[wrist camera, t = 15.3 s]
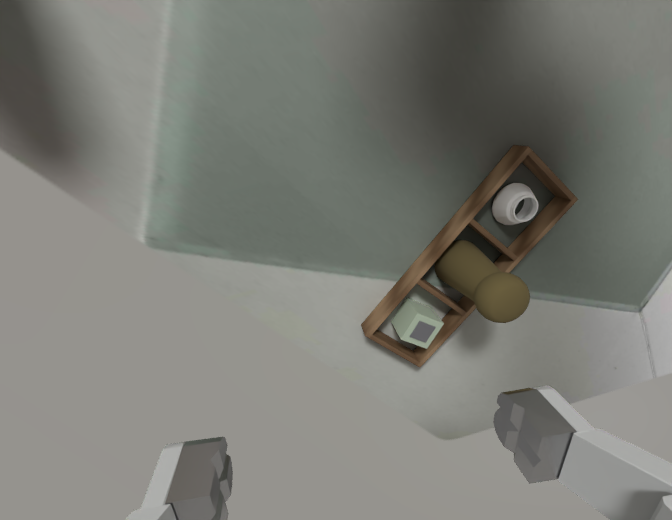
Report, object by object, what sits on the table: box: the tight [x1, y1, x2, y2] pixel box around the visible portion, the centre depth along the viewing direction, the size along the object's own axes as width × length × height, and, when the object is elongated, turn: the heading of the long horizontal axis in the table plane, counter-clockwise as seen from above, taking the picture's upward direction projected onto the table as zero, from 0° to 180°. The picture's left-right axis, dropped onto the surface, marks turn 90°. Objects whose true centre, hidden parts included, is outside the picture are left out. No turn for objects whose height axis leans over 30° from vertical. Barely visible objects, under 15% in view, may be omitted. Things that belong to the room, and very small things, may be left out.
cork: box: [435, 240, 530, 323], centre depth 37 cm, size 6×6×11 cm
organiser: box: [361, 145, 578, 367], centre depth 41 cm, size 28×10×2 cm, turn 143°
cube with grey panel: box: [391, 297, 444, 349], centre depth 42 cm, size 4×4×4 cm
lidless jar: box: [492, 183, 538, 225], centre depth 39 cm, size 5×3×5 cm
